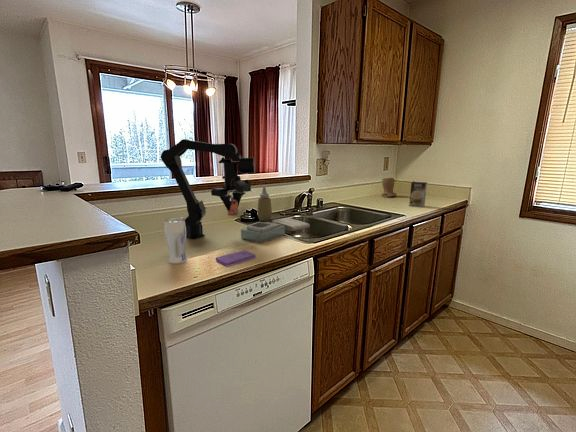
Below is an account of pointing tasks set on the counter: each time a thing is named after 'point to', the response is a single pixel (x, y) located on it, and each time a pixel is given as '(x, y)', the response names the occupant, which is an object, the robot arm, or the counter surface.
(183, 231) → the beer glass
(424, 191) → the coffee box
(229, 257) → the sponges
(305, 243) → the counter surface
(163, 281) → the counter surface
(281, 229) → the grey piece
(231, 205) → the spout can
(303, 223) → the washcloth
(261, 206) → the squeeze bottle
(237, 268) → the counter surface
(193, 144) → the robot arm
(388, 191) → the brown boot
